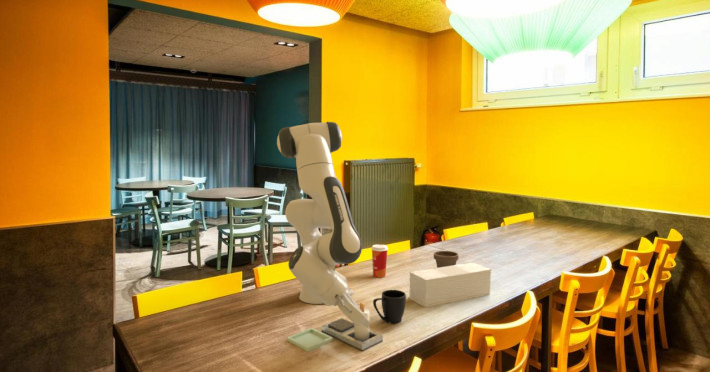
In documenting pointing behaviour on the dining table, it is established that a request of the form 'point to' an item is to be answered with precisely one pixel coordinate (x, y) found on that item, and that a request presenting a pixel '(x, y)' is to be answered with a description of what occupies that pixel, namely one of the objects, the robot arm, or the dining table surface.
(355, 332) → the white candle
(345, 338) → the grey rectangular piece
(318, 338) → the tray
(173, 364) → the dining table surface
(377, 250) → the paper cup
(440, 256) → the flower pot
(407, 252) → the dining table surface
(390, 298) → the mug
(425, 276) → the stack of papers
